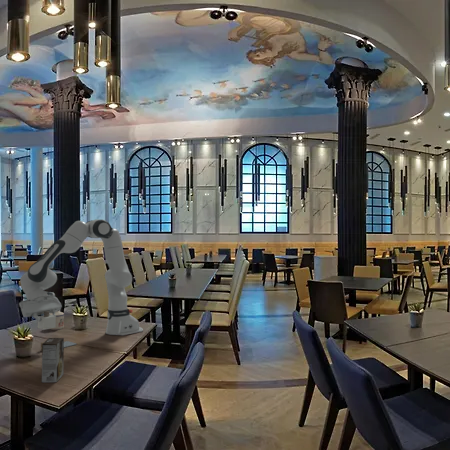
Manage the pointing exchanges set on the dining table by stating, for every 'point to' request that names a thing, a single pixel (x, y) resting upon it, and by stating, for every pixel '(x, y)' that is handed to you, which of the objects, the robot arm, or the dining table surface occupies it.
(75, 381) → the dining table surface
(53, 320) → the perfume bottle
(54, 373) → the coffee box
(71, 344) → the felt mat
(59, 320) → the teacup with lid
